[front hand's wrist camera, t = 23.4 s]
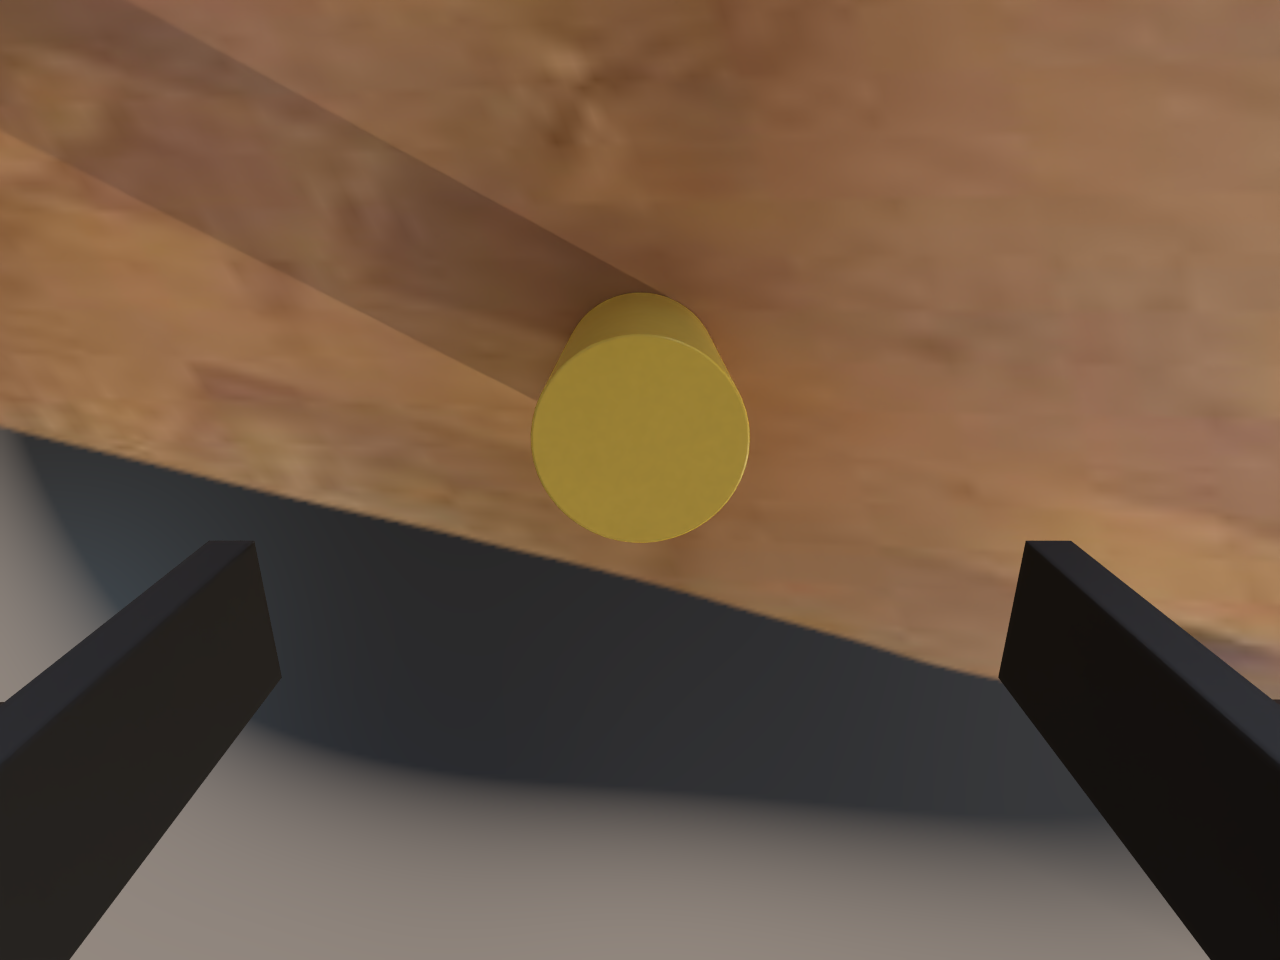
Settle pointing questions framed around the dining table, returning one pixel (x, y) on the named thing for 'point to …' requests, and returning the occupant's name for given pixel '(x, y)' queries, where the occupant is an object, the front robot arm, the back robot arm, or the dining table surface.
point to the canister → (640, 423)
